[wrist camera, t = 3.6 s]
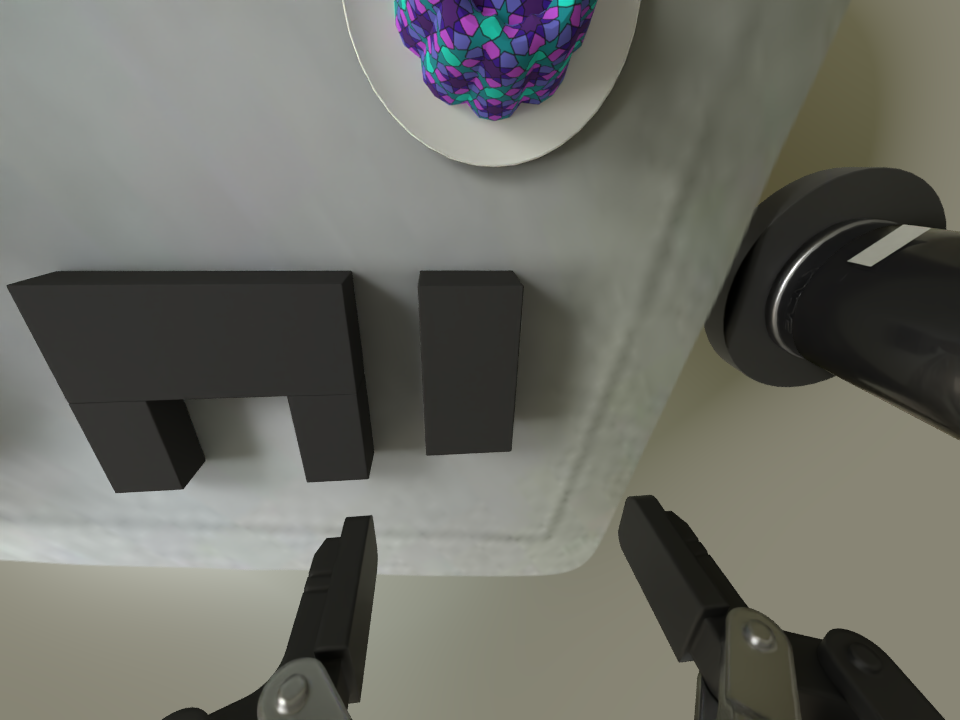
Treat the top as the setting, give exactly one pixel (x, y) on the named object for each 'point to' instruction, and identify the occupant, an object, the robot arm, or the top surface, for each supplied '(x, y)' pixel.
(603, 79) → the pudding
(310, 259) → the top surface
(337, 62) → the top surface
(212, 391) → the base pad
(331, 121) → the top surface
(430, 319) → the black rectangular block
